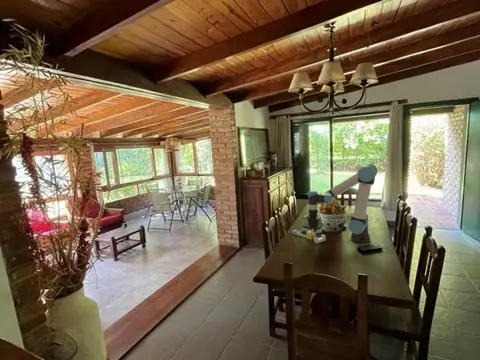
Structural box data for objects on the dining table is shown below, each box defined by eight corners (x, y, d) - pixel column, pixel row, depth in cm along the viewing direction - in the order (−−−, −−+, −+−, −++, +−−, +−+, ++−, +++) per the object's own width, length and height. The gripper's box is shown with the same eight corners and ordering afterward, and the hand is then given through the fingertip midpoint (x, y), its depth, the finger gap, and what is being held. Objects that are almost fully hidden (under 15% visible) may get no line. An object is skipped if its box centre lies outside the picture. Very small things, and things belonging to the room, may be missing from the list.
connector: (298, 233, 263) (298, 230, 263) (295, 234, 261) (295, 231, 260) (295, 232, 266) (295, 229, 266) (291, 233, 264) (291, 230, 263)
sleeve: (315, 238, 248) (314, 231, 247) (311, 239, 245) (310, 232, 244) (310, 236, 252) (310, 230, 251) (306, 238, 249) (306, 231, 248)
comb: (325, 240, 242) (325, 235, 241) (317, 243, 236) (317, 238, 235) (322, 239, 245) (322, 234, 244) (314, 242, 239) (314, 237, 238)
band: (300, 234, 260) (300, 231, 260) (298, 235, 258) (297, 232, 258) (299, 234, 261) (299, 231, 261) (297, 235, 259) (296, 232, 259)
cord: (322, 241, 239) (322, 239, 239) (321, 242, 238) (321, 240, 238) (294, 233, 265) (294, 231, 265) (293, 233, 264) (293, 232, 264)
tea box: (302, 231, 270) (302, 216, 268) (309, 228, 276) (308, 214, 274) (315, 234, 258) (314, 218, 257) (322, 232, 264) (321, 216, 263)
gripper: (322, 209, 239) (322, 236, 242) (310, 207, 250) (310, 232, 253) (316, 210, 235) (316, 238, 238) (304, 208, 245) (304, 234, 248)
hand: (313, 235), depth 245 cm, fingers closed
